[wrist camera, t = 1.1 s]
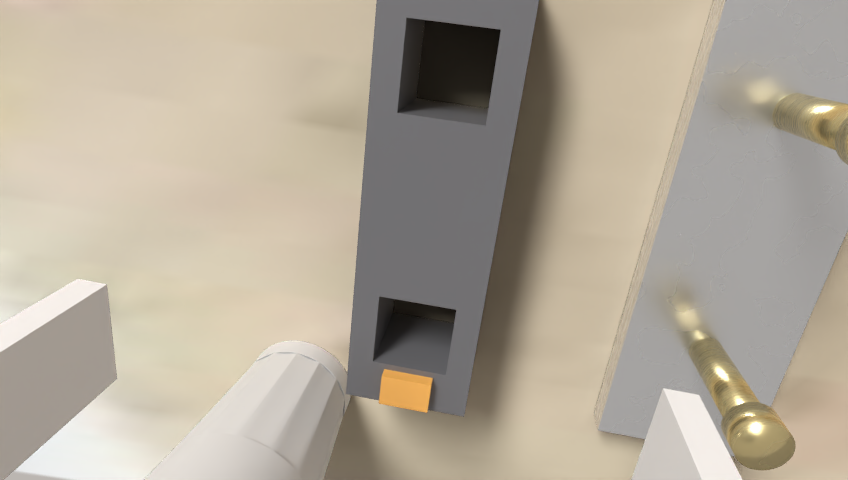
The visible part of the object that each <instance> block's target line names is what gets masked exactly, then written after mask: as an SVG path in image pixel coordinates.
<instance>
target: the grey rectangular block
mask: <svg viewBox="0 0 848 480" xmlns="http://www.w3.org/2000/svg"><path fill="white" fill-rule="evenodd" d="M538 3H539V0H377V4H376V17H375V29H374V42H373V55H372V68H371V80H370V93H369V106H368V119H367V131H366V144H365V157H364V170H363V182H362V195H361V208H360V221H359V234H358V246H357V259H356V272H355V285H354V297H353V310H352V323H351V336H350V348H349V361H348V374H347V387H346V394H349V395H354V396H359V397H364V398H370V399H375V400H379V404H385V405H390V406H395V407H400V408H405V409H410V410H416V411H421V412H426V413H427V411H428V410H432V411H437V412H442V413H447V414H453V415H458V416H463V417H464V414H465V408H466V403H467V397H468V392H469V386H470V381H471V375H472V370H473V364H474V358H475V353H476V347H477V342H478V336H479V331H480V325H481V320H482V314H483V309H484V303H485V297H486V292H487V286H488V281H489V275H490V270H491V264H492V259H493V253H494V248H495V242H496V236H497V231H498V225H499V220H500V214H501V209H502V203H503V198H504V192H505V187H506V181H507V175H508V170H509V164H510V159H511V153H512V148H513V142H514V137H515V131H516V126H517V120H518V114H519V109H520V103H521V98H522V92H523V87H524V81H525V76H526V70H527V64H528V59H529V53H530V48H531V42H532V37H533V31H534V26H535V20H536V15H537V9H538ZM425 20H430V21H437V22H445V23H453V24H461V25H469V26H477V27H485V28H492V29H500V30H501V32H500V39H499V45H498V51H497V57H496V64H495V70H494V76H493V82H492V89H491V95H490V101H489V108H482V107H475V106H468V105H461V104H453V103H446V102H439V101H432V100H425V99H418V98H417V89H418V80H419V71H420V62H421V53H422V44H423V35H424V26H425ZM394 299H398V300H403V301H409V302H415V303H420V304H426V305H432V306H438V307H443V308H449V309H455V310H456V315H455V321H454V323H450V322H444V321H439V320H433V319H427V318H422V317H416V316H411V315H405V314H399V313H394V312H393V307H394Z"/></svg>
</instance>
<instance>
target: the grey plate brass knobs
mask: <svg viewBox="0 0 848 480" xmlns="http://www.w3.org/2000/svg"><path fill="white" fill-rule="evenodd" d="M847 231H848V0H713V4H712V7H711V11H710V14H709V17H708V21H707V24H706V28H705V31H704V35H703V38H702V42H701V45H700V49H699V52H698V55H697V59H696V62H695V66H694V69H693V73H692V76H691V80H690V83H689V86H688V90H687V93H686V97H685V100H684V104H683V107H682V111H681V114H680V118H679V121H678V124H677V128H676V131H675V135H674V138H673V142H672V145H671V149H670V152H669V155H668V159H667V162H666V166H665V169H664V173H663V176H662V180H661V183H660V187H659V190H658V193H657V197H656V200H655V204H654V207H653V211H652V214H651V218H650V221H649V225H648V228H647V231H646V235H645V238H644V242H643V245H642V249H641V252H640V256H639V259H638V262H637V266H636V269H635V273H634V276H633V280H632V283H631V287H630V290H629V294H628V297H627V300H626V304H625V307H624V311H623V314H622V318H621V321H620V325H619V328H618V331H617V335H616V338H615V342H614V345H613V349H612V352H611V356H610V359H609V363H608V366H607V369H606V373H605V376H604V380H603V383H602V387H601V390H600V394H599V397H598V400H597V404H596V407H595V411H594V415H595V420H596V424H597V429H598V430H599V431H605V432H610V433H615V434H620V435H626V436H631V437H636V438H641V439H646V436H647V433H648V430H649V427H650V425H651V422H652V419H653V416H654V413H655V410H656V407H657V404H658V402H659V399H660V396H661V393H662V390H663V388H665V389H670V390H676V391H681V392H686V393H692V394H697V395H699V396H700V398H701V400H702V402H703V404H704V406H705V408H706V410H707V411H708V413H709V415H710V417H711V419H712V421H713V423H714V425H715V427H716V429H717V431H718V433H719V435H720V437H721V439H722V441H723V443H724V445H725V447H726V449H727V451H728V452H729V454H730V456H735V457H736V459H737V460H738V461H739V462H740V463H741V464H742V465H744V466H746V467H748V468H750V469H754V470H770V469H774V468H777V467H779V466H782V465H783V464H785V463H786V462H787V461H788V460H789V459H790V458H791V457H792V456H793V454H794V451H795V441H794V438H793V436H792V435H791V433H790V432H789V431H788V429H787V428H786V426H785V425H784V423H783V422H782V420H781V419H780V418H779V416H778V415H777V413H776V412H775V411H774V410H773V409H772V408H771V404H772V402H773V400H774V398H775V395H776V393H777V391H778V388H779V386H780V384H781V382H782V379H783V377H784V375H785V372H786V370H787V368H788V366H789V363H790V361H791V359H792V356H793V354H794V352H795V350H796V347H797V345H798V343H799V340H800V338H801V336H802V334H803V331H804V329H805V327H806V324H807V322H808V320H809V318H810V315H811V313H812V311H813V308H814V306H815V304H816V302H817V299H818V297H819V295H820V292H821V290H822V288H823V286H824V283H825V281H826V279H827V276H828V274H829V272H830V270H831V267H832V265H833V263H834V260H835V258H836V256H837V254H838V251H839V249H840V247H841V244H842V242H843V240H844V238H845V235H846V233H847Z"/></svg>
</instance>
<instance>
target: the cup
mask: <svg viewBox="0 0 848 480" xmlns="http://www.w3.org/2000/svg"><path fill="white" fill-rule="evenodd" d="M346 387H347V373H346V371H345V369H344V368H343V366H342V365H341V364H340V362H339V361H338V360H337V359H336V358H335V357H334V356H333V355H332V354H330V353H329V352H328V351H326V350H324V349H323V348H321V347H319V346H317V345H314V344H311V343H308V342H304V341H296V340H290V341H282V342H279V343H276V344H273V345H271V346H269V347H268V348H266V349H265V350H264V351H263V352H262V353H261V354H260V355H259V357H258V358H257V359H256V361H255V362H254V363H253V365H252V366H251V367H250V368H249V369H248V370H247V371H246V373H245V374H244V375H243V376H242V377H241V378H240V379H239V380H238V381H237V382H236V383H235V384H234V385H233V386H232V387H231V389H230V390H229V391H228V392H227V393H226V394H225V395H224V396H223V397H222V398H221V399H220V400H219V401H218V402H217V403H216V404H215V406H214V407H213V408H212V409H211V410H210V411H209V412H208V413H207V414H206V415H205V416H204V417H203V418H202V419H201V420H200V422H199V423H198V424H197V425H196V426H195V427H194V428H193V429H192V430H191V431H190V432H189V433H188V434H187V435H186V436H185V438H184V439H183V440H182V441H181V442H180V443H179V444H178V445H177V446H176V447H175V448H174V449H173V450H172V451H171V452H170V453H169V454H168V455H167V456H166V457H165V458H164V459H163V460H162V461H161V462H160V463H159V464H158V465H157V466H156V467H155V468H154V469H153V470H152V472H151V473H150V474H149V475H148V476H147V477H146V478H145V479H144V480H324V477H325V473H326V470H327V467H328V464H329V461H330V457H331V454H332V451H333V448H334V444H335V441H336V438H337V435H338V431H339V428H340V425H341V422H342V419H343V416H344V414H345V411H346V409H347V407H348V404H349V401H350V397H351V395H349V394H346Z"/></svg>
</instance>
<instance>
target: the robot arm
mask: <svg viewBox="0 0 848 480" xmlns="http://www.w3.org/2000/svg"><path fill="white" fill-rule="evenodd" d="M116 379H117V373H116V364H115V355H114V345H113V336H112V327H111V317H110V308H109V299H108V289H107V284H103V283H97V282H92V281H87V280H81V279H76V280H75V281H73V282H71V283H70V284H68V285H66V286H64V287H63V288H61V289H59V290H57V291H56V292H54V293H52V294H51V295H49V296H47V297H45V298H44V299H42V300H40V301H39V302H37V303H35V304H33V305H32V306H30V307H28V308H26V309H25V310H23V311H21V312H20V313H18V314H16V315H14V316H13V317H11V318H9V319H8V320H6V321H4V322H2V323H1V324H0V480H4V479H5V478H6V477H7V476H8V475H10V474H11V473H12V472H13V471H14V470H15V469H16V468H18V467H19V466H20V465H21V464H22V463H23V462H24V461H25V460H26V459H28V458H29V457H30V456H31V455H32V454H33V453H34V452H35V451H37V450H38V449H39V448H40V447H41V446H42V445H43V444H44V443H46V442H47V441H48V440H49V439H50V438H51V437H52V436H53V435H54V434H56V433H57V432H58V431H59V430H60V429H61V428H62V427H63V426H65V425H66V424H67V423H68V422H69V421H70V420H71V419H72V418H74V417H75V416H76V415H77V414H78V413H79V412H80V411H81V410H82V409H84V408H85V407H86V406H87V405H88V404H89V403H90V402H91V401H93V400H94V399H95V398H96V397H97V396H98V395H99V394H100V393H102V392H103V391H104V390H105V389H106V388H107V387H108V386H109V385H110V384H112V383H113V382H114V381H115V380H116ZM631 480H742V478H741V476H740V474H739V472H738V470H737V468H736V466H735V464H734V462H733V460H732V458H731V456H730V454H729V452H728V451H727V449H726V447H725V445H724V443H723V441H722V439H721V437H720V435H719V433H718V431H717V429H716V427H715V425H714V423H713V421H712V419H711V417H710V415H709V413H708V411H707V410H706V408H705V406H704V404H703V402H702V400H701V398H700V396H699V395H697V394H692V393H686V392H681V391H676V390H670V389H665V388H663V390H662V393H661V396H660V399H659V402H658V404H657V407H656V410H655V413H654V416H653V419H652V422H651V425H650V427H649V430H648V433H647V436H646V439H645V442H644V445H643V448H642V450H641V453H640V456H639V459H638V462H637V465H636V468H635V471H634V473H633V476H632V479H631Z"/></svg>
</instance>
